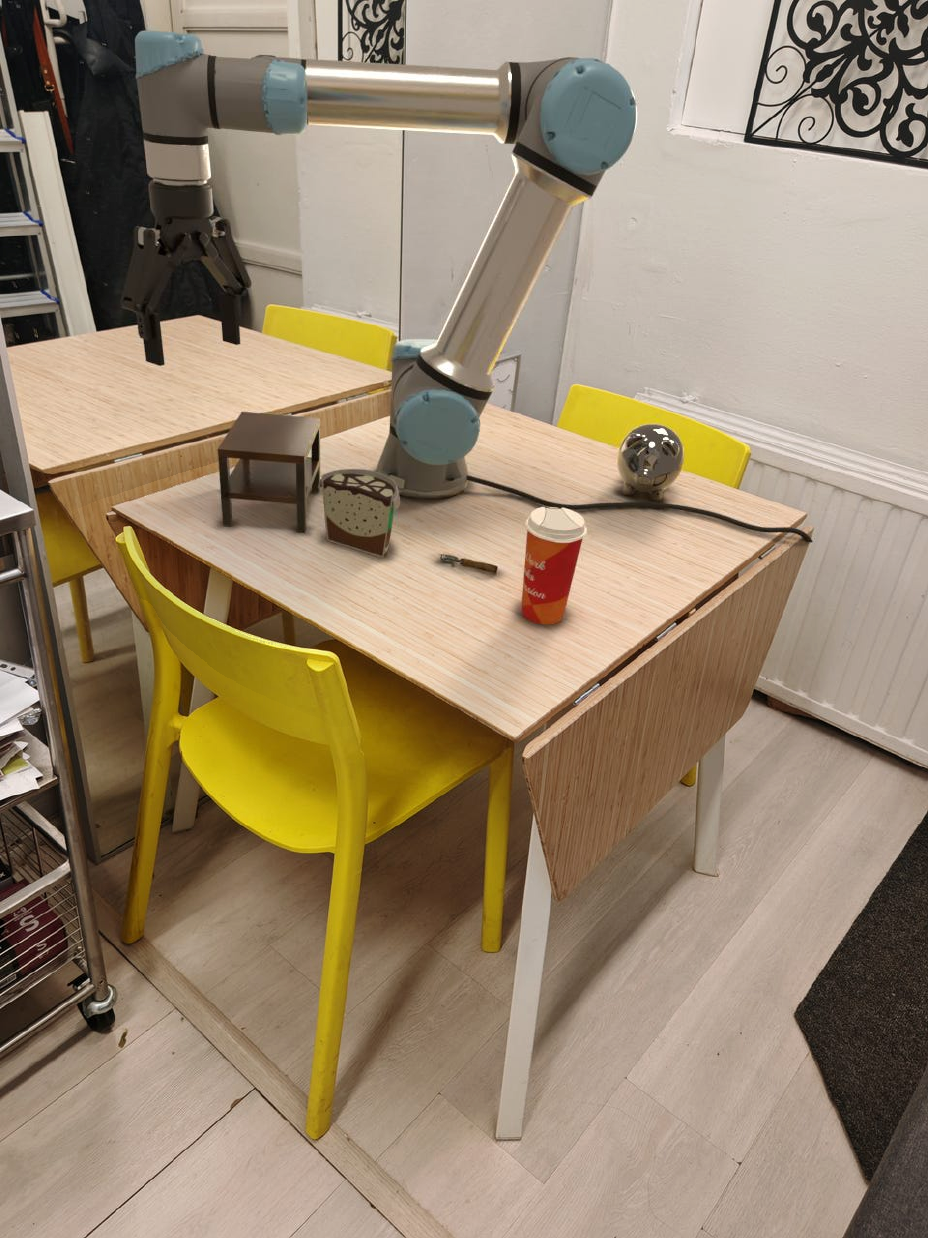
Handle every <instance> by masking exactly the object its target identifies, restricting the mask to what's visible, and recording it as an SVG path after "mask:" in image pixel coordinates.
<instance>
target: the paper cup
mask: <svg viewBox="0 0 928 1238" xmlns="http://www.w3.org/2000/svg"><path fill="white" fill-rule="evenodd" d="M585 524H586V521H585V519H584V517H583V516H582V514H580V513H578V512H577V511H576V510H570V509H566V508H561V509H558V507H546V506H541V507H537V508H535V509H533V510H532V511H531V512H530V514H529V516H528V517H527V519H526V521H525V523H524V525H525V528H526V540H525V543H526V544H525V554H524V565H523V566H524V567H523V568H524V569H523V579H522V591H521V592H522V594H521V614H522V616H523V617H524V618H525V619H526V620H528V621H530V622H532V623H535V624H538V625H544V626H545V625H546V626H547V625H554V624H557V623H559V622H561V621H562V620H563V618H564V615H565V611H566V607H567V604H568V600H569V596H570V592H571V588H572V584H573V579H574V576H575V571H576V568H577V564H578V560H579V556H580V551H581V547H582V543H583V539H584V538H585V537H586V535H587V532H588V531H587V526H586V525H585Z"/></svg>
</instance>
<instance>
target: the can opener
mask: <svg viewBox="0 0 928 1238" xmlns="http://www.w3.org/2000/svg"><path fill="white" fill-rule="evenodd" d="M437 556H439V559H440V561H442V562H445V561H448V562H449V563H459V565H462V566H463V567H467V568H473V569H475V570H479V571H483V572H488V573H493V574H497V572H498V569H499V566H498V565H496V564H492V563H489V562H483V561H477V560H472V559H469V558H463V557H462V558H460V559H459V557H457V556H454V555H451V554H445V553H439V554H437ZM443 557H445V558H443Z"/></svg>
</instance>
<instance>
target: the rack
mask: <svg viewBox="0 0 928 1238" xmlns="http://www.w3.org/2000/svg"><path fill="white" fill-rule="evenodd" d="M310 451H311V453H310ZM309 454H311V456H309ZM217 456H218V458H217V459H218V475H219V488H220V503H221V517H222V519H221V520H222V526H223V527H231V528H232V527H233V526H232V525H233V524H234V521H233V504H232V503H233V502H232V500H241V501H251V502H252V501H254V502H263V503H264V502H267V503H278V504H291V505H296V532H297V533H303V534H305V533H306V531H307V500H308V498H309V495H310V492H311V493H314V494H315V493H316V494H319V493H320V492H321V488H318V486H319V481H320V479H321V418H319V417H308V416H296V415H287V414H286V415H285V414H274V413H262V412H251V411H241V412H240V413H239V415H238V417H237V418H236V420H235V421H234V423H233V424H232V426H231V427H230V429H229V431H228V432H227V434H226V435H225V437H224V439H223V440H222V442H221V443H220V444H219V446H218V448H217ZM230 459H236V460H237V459H238V461H237V462H236V463H235V466H234V467H233V469H232V471H231V468H230Z"/></svg>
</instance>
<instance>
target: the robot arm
mask: <svg viewBox="0 0 928 1238" xmlns="http://www.w3.org/2000/svg"><path fill="white" fill-rule="evenodd" d="M202 45H203V44H202V40H201V39H200V37H199V36H198V35H197V34H195V33H194V34H193V33H185V32H184V33H183V32H173V31H163V30H148V29H147V30H140V31H139V32H138V33H137V34H136V35H135V38H134V49H135V69H136V70H135V71H136V74H135V80H136V86H137V92H138V101H139V110H140V118H141V125H142V126H141V127H142V135H143V147H144V155H145V156H144V157H145V164H146V173H147V175H148V176H149V177H150V178H152V180H150V181H149V183H148V194H149V203H150V211H151V213H152V214H153V216H154V219H155V223H154V228H148V227H144V226H139V225H136V226H135V227H134V228H133V250H132V254H131V258H130V262H129V264H128V270H127V273H126V277H125V282H124V284H123V285H124V286H123V289H122V293H121V297H120V303H119V304H120V307H121V308H122V309H126V310H128V311H132V312H134V313H135V316H136V323H137V324H136V325H137V329H138V330H137V332H138V336H139V338H140V339H142V340H143V348H144V350H143V351H144V357H145V358H144V359H145V362H147V363H150V364H152V365H156V366H159V367H161V366H165V365H166V364H165V355H164V346H163V345H164V343H163V336H162V335H163V334H162V327H161V318H160V313H158V312H155V311H154V310H155V309H156V308H157V304H158V302H159V300H160V299H161V296H162V294H163V292H164V290H165V289H166V286H167V284H168V282H169V280H170V278H171V276H172V273H173V271H174V270H175V269H177V268H178V267H179V266H180V263H182V264H184V263H189V262H191V261H192V260H193V261H201V262H202V264H203V265H204V267H206V269H207V270H208V271H209V272H210V274H211V275H212V276H213V278H214V279H215V280H216V281H217V283H218V284H219V286H220V287H221V288H222V289H223V291H224V292H220V293H219V308H220V310H219V311H220V323H221V337H222V342H226V343H228V344H230V345H231V344H232V345H235V346H238V345H241V329H240V319H241V317H242V307H241V306H242V304H241V301H242V300H241V297H245V296H246V295H247V289H250V288H251V287H252V280H251V277H250V275H249V273H248V270H247V267H246V266H245V263H244V261H243V259H242V257H241V254H240V252H239V249H238V247H237V245H236V241H235V240H234V238H233V234H232V227H231V221H230V220H229V218H224V217H220V216H215V215H213V214H214V202H213V199H214V198H213V187H212V185H211V184H210V183H209V182H208V181H209V180H210V179H211V178H212V171H211V160H210V146H209V136H208V134H209V133H208V131H209V129H214V130H222V129H223V130H233V131H242V132H243V131H244V132H254V133H255V132H256V133H268V134H274V135H276V136H281V135H301V134H303V133H304V132H305V131H306V130H307V127H308V125H309V126H310V125H312V126H328V127H346V128H365V129H379V130H380V129H381V130H382V129H383V130H384V129H385V130H396V131H397V130H401V131H415V132H416V131H418V132H436V133H452V134H453V133H455V134H472V135H473V134H474V135H489V136H492V137H493V136H494V138H495V139H496V140H497V141H498V143H499V144H502V145H505V144H506V145H514V147H513V149H512V151H511V153H510V155H511V159H512V162H513V166H514V175H513V178H512V180H511V182H510V184H509V186H508V188H507V191H506V193H505V195H504V197H503V199H502V202H501V204H500V206H499V208H498V210H497V212H496V214H495V216H494V218H493V221H492V223H491V225H490V227H489V229H488V232H487V233H486V236H485V237H484V240H483V242H482V244H481V247H480V248H479V250H478V253H477V255H476V257H475V259H474V261H473V263H472V266H471V268H470V270H469V272H468V274H467V277H466V278H465V281H464V283H463V285H462V287H461V289H460V291H459V293H458V295H457V297H456V300H455V302H454V305H453V306H452V309H451V310H450V313H449V315H448V317H447V319H446V321H445V323H444V326H443V328H442V330H441V332H440V334H439V336H438V338H437V339H431V338H428V339H427V338H411V339H403V340H399V341H397V342H396V343H395V344H394V346H393V349H392V357H391V358H390V362H391V365H392V366H391V383H390V384H391V385H390V406H389V409H390V410H389V431H388V432H389V433H388V435H387V439H386V440H385V444H384V446H383V449H382V451H381V454H380V456H379V459H378V462H377V466H376V472H378V473H381V474H384V475H386V476H388V477H389V478H391V479H392V480H393V481H394V482H395V483H396V485H397V488H398V490H399V496H403V497H407V498H413V499H421V500H436V499H444V498H445V499H446V498H449V497H453V496H455V495H457V494H460V493H462V492H463V491H464V490H465V489H466V488H467V486H468V481H469V482H472V483H476V484H480V485H482V486H486V487H490V488H492V489H497V490H500V491H504V492H506V493H509V494H512V495H516V496H519V497H522V498H524V499H527V500H528V501H531V502H534V503H535V504H538V505H542V506H544V507H547V508H549V507H558V509H561V508H566V509H570V510H572V511H582V510H583V511H584V510H594V509H595V510H596V509H612V508H613V509H615V508H619V509H620V508H658V509H666V510H667V509H669V510H675V511H681V512H682V511H683V512H689V513H694V514H698V515H703V516H706V517H710V518H713V519H717V520H721V521H723V522H726V523H729V524H732V525H734V526H737V527H740V528H744V529H746V530H749V531H750V530H751V531H754V532H758V533H771V534H772V533H777V534H778V533H787V534H788V533H789V534H795V535H798V536H800V537H801V538H803V540H805V542H807V543H813V542H814V541H813V540H812V538H811V536H810V535H809V534H808V533H806V532H805V531H803V530H801V529H799V528H796V527H789V526H785V527H784V526H779V527H778V526H777V527H772V526H771V527H767V526H758V525H754V524H751V523H747V522H744V521H741V520H738V519H735V518H732V517H730V516H727V515H725V514H721V513H718V512H714V511H711V510H707V509H702V508H698V507H694V506H689V505H683V504H675V503H667V502H657V501H656V502H654V501H623V502H621V501H620V502H619V501H618V502H593V503H585V504H584V503H582V504H567V503H558V502H553V501H549V500H545V499H544V498H543V499H542V498H539V497H537V496H534V495H532V494H530V493H528V492H525V491H523V490H519V489H516V488H513V487H510V486H506V485H505V484H504V485H503V484H501V483H497V482H494V481H490V480H487V479H484V478H480V477H476V476H472V475H469V471H468V465H467V462H466V461H467V460H466V456H467V455H469V453H471V451H472V450H473V449H474V447H475V446H476V444H477V442H478V439H479V435H480V432H481V420H480V417H481V416H482V413H483V412H484V410H485V408H486V406H487V403H488V401H489V399H490V398H491V395H492V394H493V393H494V389H495V382H494V380H493V377H492V370H493V368H494V366H495V364H496V362H497V360H498V358H499V357H500V354H501V352H502V350H503V348H504V346H505V344H506V342H507V340H508V338H509V336H510V335H511V332H512V330H513V328H514V326H515V325H516V323H517V320H518V319H519V317H520V314H521V312H522V311H523V308H524V306H525V304H526V302H527V301H528V299H529V297H530V295H531V293H532V290H533V288H534V286H535V285H536V283H537V281H538V279H539V276H540V275H541V273H542V271H543V269H544V267H545V265H546V263H547V261H548V259H549V257H550V255H551V253H552V251H553V249H554V247H555V245H556V243H557V241H558V239H559V237H560V235H561V233H562V231H563V229H564V227H565V225H566V223H567V221H568V219H569V217H570V215H571V213H572V211H573V209H574V208H575V207H576V206H577V205H579V204H582V203H583V202H587V201H590V200H592V198H593V196H594V194H595V193H596V190H597V188H598V186H599V185H600V183H601V181H602V179H603V176H604V175H605V173H606V171H607V170H609V169H611V168H612V167H613V166H615V165H616V164H617V163H618V162H619V161H620V160H621V159H622V158H623V156H624V155H625V154H626V153H627V151H628V149H629V148H630V146H631V144H632V141H633V139H634V136H635V133H636V128H637V123H638V122H637V121H638V107H637V103H636V98H635V94H634V92H633V89H632V87H631V85H630V83H629V82H628V80H627V79H626V77H625V76H624V75H623V74H622V73H621V72H620V71H618V70H617V69H616V68H615V67H613V66H611V64H610V63H607V62H604V61H602V60H599V59H598V58H593V57H581V58H580V57H572V56H568V57H561V58H554V59H548V60H542V61H541V60H540V61H527V62H525V61H523V62H522V61H521V62H520V61H519V62H518V61H517V62H516V61H504V62H503V63H502V64H501V65H500V66H499V68H498V69H485V68H484V69H483V68H470V67H469V68H468V67H467V68H466V67H450V66H436V65H435V66H433V65H417V64H400V63H398V64H397V63H383V62H369V61H368V62H366V61H349V60H335V59H332V60H331V59H317V58H316V59H315V58H297V57H283V56H282V57H281V56H276V55H272V54H271V55H270V54H258V55H256V56H253V57H250V58H246V57H245V58H244V57H226V56H217V55H211V54H207V53H205V51H204V49H203V46H202ZM211 238H213V241H214V243H215V246H216V247H215V246H214V245H213V243H212V242H211ZM216 248H217V249H216ZM219 254H220V255H219Z"/></svg>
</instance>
